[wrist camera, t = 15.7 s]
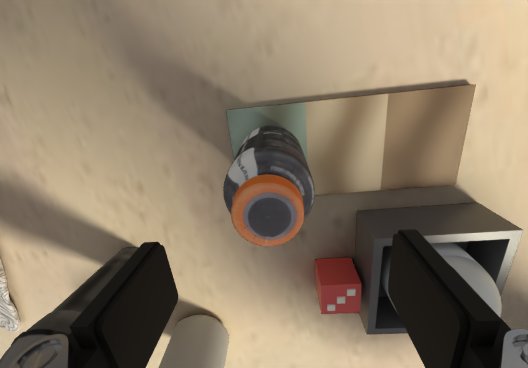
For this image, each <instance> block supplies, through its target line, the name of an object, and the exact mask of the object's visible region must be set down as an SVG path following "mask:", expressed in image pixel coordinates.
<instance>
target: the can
mask: <svg viewBox="0 0 528 368" xmlns="http://www.w3.org/2000/svg"><path fill="white" fill-rule="evenodd" d="M228 344H229V334H228V331H227V329H226V328H225V327H224V326H223V325H222V324H221V322H220V321H219V320H217V319H216V318H214V317H211V316H208V315H203V314H198V315H192V316H190V317H187V318H184V319H182V320H181V321H179V322H178V323H177V324H176V326H175V329H174V331H173V334H172V336H171V339H170V341H169V344H168V346H167V349H166V351H165V353H164V356H163V358H162V361H161V363H160V366H159V368H224V366H225V360H226V355H227V349H228Z"/></svg>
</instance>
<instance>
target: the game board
mask: <svg viewBox="0 0 528 368" xmlns="http://www.w3.org/2000/svg"><path fill="white" fill-rule="evenodd" d="M475 87H476V85H473V84H470V85H461V86H451V87H442V88H432V89H422V90H413V91H403V92H394V93H384V94H375V95H365V96H356V97H346V98H337V99H327V100H317V101H308V102H298V103H289V104H279V105H270V106H260V107H251V108H241V109H232V110H227V111H226V113H227V119H228V125H229V132H230V138H231V144H232V151H233V157H234V159H235V157H236V155H237V153H238V151H239V149H240V147H241V145H242V143H243V141H244V139H245V138H246V137H247V136H248V135H249V134H250V133H251V132H252V131H254V130H256V129H258V128H260V127H263V126H278V127H281V128H285V129H286V130H288V131H289V132H291V133H292V134H293V135H294V136H295V137H296V138H297V139H298V141H299V143H300V145H301V148H302V150H303V153H304V156H305V158H306V161H307V164H308V167H309V170H310V173H311V175H312V178H313V182H314V188H315V195H324V194H338V193H351V192H364V191H378V190H391V189H404V188H417V187H431V186H444V185H455V184H456V179H457V174H458V169H459V164H460V160H461V155H462V150H463V145H464V140H465V135H466V130H467V126H468V121H469V116H470V111H471V106H472V101H473V96H474V92H475Z"/></svg>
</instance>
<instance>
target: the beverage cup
mask: <svg viewBox="0 0 528 368" xmlns="http://www.w3.org/2000/svg"><path fill="white" fill-rule="evenodd" d="M137 249H138V248H135V247H127V248H124V249H122V250H121V251H120V252H119V253H118V254H117V255H115V256H114V257H112V258H111V259H110V260H109V261H108V262H107V263H106V264H104V265H103V266H102V267H101V268H100V269H99V270H98V271H97V272H96V273H94V274H93V275H92V276H91V277H90V278H89V279H88V280H87V281H86V282H85V283H83V284H82V285H81V286H80V287H79V288H78V289H77V290H76V291H75V292H73V293H72V294H71V295H70V296H69V297H68V298H67V299H66V300H65V301H63V302H62V303H61V304H60V305H59V306H58V307H57V308H56V309H55V310H54V311H52V312H51V313H49V314H47V315H46V316H45V317H43V318H42V319H41V320H39V321H38V322H37V323H35V324H34V325H33V326H32V327H31V328H29V329H28V330H27V331H26V332H23V333H21V334H20V335H19V336H18V337H17V338H15V340H14V341H13V343H12V344H11V347H10V348H9V349H8V350H7V351H6V352H5V353H4V355H3V356H2V358H1V359H0V368H8V367H9V365H10V364H11V363H12V361H13V360H14V359H15V358H16V357H17V356H18V355H19V354H20V353H21V352H22V351H23V350H25V349H26V348H27V347H29V346H30V345H31V344H33V343H35V342H37V341H38V340H40V339H42V338H45V337H47V336H50V335H55V334H64V335H65V336H66V337H67V336H68V335H69V334H70V333H71V329H70V325H71V324H72V323H73V322H74V321H75V320H76V319H77V317H78V316H79V315H80V314H81V313H82V312H83V311H84V310H85V308H86V307H87V306H88V305H89V304H90V303H91V302H92V300H93V299H94V298H95V297H96V296H97V295H98V294H99V292H100V291H101V290H102V289H103V288H104V287H105V286H106V285H107V283H108V282H109V281H110V280H111V279H112V278H113V277H114V275H115V274H116V273H117V272H118V271H119V270H120V269H121V267H122V266H123V265H124V264H125V263H126V262H127V261H128V260H129V258H130V257H131V256H132V255H133V254H134V253H135V252H136V250H137Z"/></svg>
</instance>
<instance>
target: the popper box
mask: <svg viewBox="0 0 528 368" xmlns="http://www.w3.org/2000/svg"><path fill="white" fill-rule="evenodd" d="M406 229H416V230H417V231H418V232H419V233H420V234H421V235H422V236H423V237H424V238H425V239H426V240H427V241H428V242H429V243H446V242H455V243H457V244H458V245H459V246H460V247H461V248H462V249H463V250H464V251H465V252H467V253H468V254H469V255H470V256H471V257H472V258H473V259H474V260H475V261H476V262H478V263H479V264H480V265H481V266H482V267H483V268H484V269H485V270H486V271H487V272H488V274H489V275H490V276H491V278H492V279H493V281H494V282H495V284H496V286H497V288H498V291H499V294H500V296H501V293H502V290H503V287H504V284H505V281H506V278H507V276H508V273H509V270H510V267H511V264H512V261H513V258H514V255H515V252H516V249H517V247H518V244H519V241H520V238H521V235H522V232H523V230H522V229H521V228H519V227H517V226H516V225H514V224H512V223H511V222H509V221H507V220H506V219H504V218H502V217H501V216H499V215H497V214H496V213H494V212H493V211H491V210H489V209H488V208H486V207H484V206H483V205H481V204H479V203H465V204H451V205H437V206H422V207H408V208H393V209H379V210H364V211H357V219H356V242H355V265H353V262H352V260H351V258H350V257H347V258H329V259H315V271H316V288H317V293H318V299H319V304H320V309H321V314H337V313H359V314H360V317H361V320H362V322H363V325H364V328H365V331H366V333H367V334H397V333H408V332H407V330H406V328H405V326H404V324H403V322H402V321H401V319H400V317H399V315H398V313H397V312H396V310H395V308H394V307H393V305H392V303H391V301H390V299H389V297H388V295H387V293H386V291H385V289H384V287H383V285H382V283H381V282H380V273H381V263H382V252H383V248H384V247H385V246H392V240H393V235H394V234H397V233H398V231H399V230H406Z"/></svg>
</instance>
